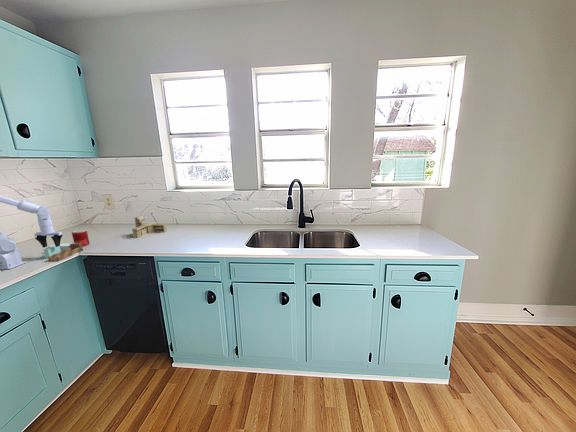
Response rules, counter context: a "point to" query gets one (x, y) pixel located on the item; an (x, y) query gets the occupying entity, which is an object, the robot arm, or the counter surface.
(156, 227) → the toy kitchen set
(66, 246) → the skincare box
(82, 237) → the canned food
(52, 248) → the door panel
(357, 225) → the counter surface
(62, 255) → the track
